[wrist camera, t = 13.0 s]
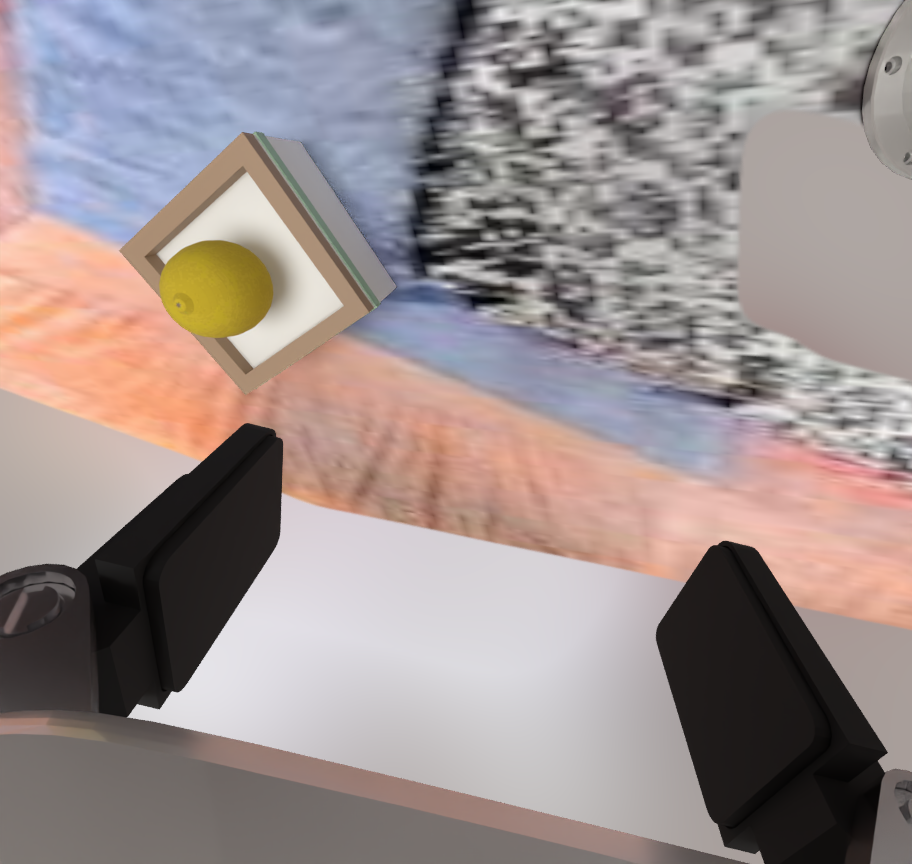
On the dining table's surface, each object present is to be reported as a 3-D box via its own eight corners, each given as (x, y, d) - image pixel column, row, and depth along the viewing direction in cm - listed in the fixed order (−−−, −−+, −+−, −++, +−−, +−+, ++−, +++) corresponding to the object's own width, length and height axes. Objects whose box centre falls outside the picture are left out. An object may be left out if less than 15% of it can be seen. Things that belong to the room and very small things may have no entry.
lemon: (265, 220, 30) (188, 233, 23) (307, 302, 32) (248, 337, 25) (198, 251, 31) (106, 272, 24) (242, 327, 34) (170, 367, 27)
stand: (398, 287, 38) (371, 312, 31) (291, 359, 42) (245, 396, 35) (300, 139, 34) (242, 129, 26) (192, 236, 38) (116, 250, 31)
